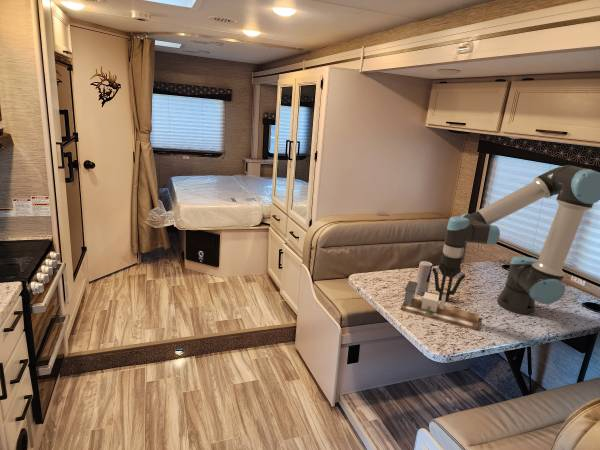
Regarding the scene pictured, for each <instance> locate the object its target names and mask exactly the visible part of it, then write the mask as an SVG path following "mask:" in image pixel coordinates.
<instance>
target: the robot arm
mask: <svg viewBox="0 0 600 450" xmlns="http://www.w3.org/2000/svg"><path fill="white" fill-rule="evenodd" d="M556 195H557V197H556V202H557V203H558V208H557V210H556V213H555V216H554V217H553V220H552V223H551V225H550V228H549V230H548V233H547V236H546V238H545V241H544V244H543V246H542V249H541V252H540V254H539V257H538V259H537V258H534V257H529V256H520V255H519V256H518V255H517V256H513V257H512V258H511V261H510V263H509V269H508V273H507V277H506V281H505V282H506V283H505V286H504V287H503V289H502V290H501V292H500V293H499V295H498V296H497V300H496V302H497V304H498V305H499V306H500V307H502V308H503V309H504V310H506V311H507V310H508V311H509V312H512V313H517V314H521V315H531V313H532V314H534V313H535V312H536V311H535V310H536V306H537V305H536V303H539V304H542V305H551V304H554V303H556V302H558V301H559V300H561V299H562V298H563V296H564V295H565V292H566V287H565V284H564V283H563V279H564V276H565V272H564V271H563V267H564V265H565V263H566V262H565V261H566V260H567V257H568V255H569V252H570V249H571V248H572V247H571V246H572V245H573V243H574V240H575V237H576V235H577V232H578V230H579V228H580V225H581V222H582V220H583V218H584V216H585V213H586V212H587V211H589V210H590V209H592V208H593V205H594V204H595V203H598V202H599V201H600V172H599V171H596V170H593V169H590V168H584V167H579V166H575V165H572V164H571V165H569V164H568V165H560V166H557V167H555V168H553V169H550V170H548V171H546V172H543V173H542V174H540V175H538V176H536V177H534V178H533V180H532V182H530V183H528V184H526V185H524V186H523V187H520V188H519V189H516V190H515V191H513V192H511V193H509V194H507V195H505V196H504V197H501V198H499V199H498V200H496V201H494V202H492V203H490V204H488V205H486V206H484V207H483V208H480V209H479V210H477V211H475V212H473V213H463V214H461V215H460V216H459V215H458V216H457V215H455V216H451V217H450V218H449V220H448V222H447V227H446V233H445V239H444V243H443V248H442V255H441V259H440V263H439V264H438V266H432V270H431V271H432V273H433V275H434V287H435V289H434V290H435V291H436V292H438V293H439V294H438V295H439V301H440V304H439V305H440V309H444V306H445V303H448V302H449V299H450V296H451V295H452V296H455V293H456V292H457V290H458V288H459V286H460V284H461V282H462V281H463V280H464V279H465V278H466V273H465V272H463V271H461V270H462V267H461V265H462V261H463V255H464V250H465V246H466V245H465V244H466V243H471V244H481V245H482V244H483V245H495V244H497V243H498V242H499V239H500V235H501V233H500V228H499V227H498V226H496V225H492V224H494V223H496V222H498V221H500V220H502V219H505V218H506V217H508V216H510V215H512V214H514V213H516V212H518V211H520V210H522V209H524V208H526V207H528V206H529V205H531V204H533V203H535V202H537V201H540V200H541V199H543V198H544V199H550V198H551V197H553V196H556ZM439 271H440V273H441V275H442V278H441V279H442V280H441V285H440V283H439V281H440V279H439ZM456 276H458V278H457V279H456V282H455V284H454V286H453V288H452V284H453V280H454V279H453V278H455V277H456ZM447 278H448V279H449V280H448V284H447V289H446V292H445V291H444V290H445V285H446V279H447ZM451 289H452V290H451ZM533 312H534V313H533Z"/></svg>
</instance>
